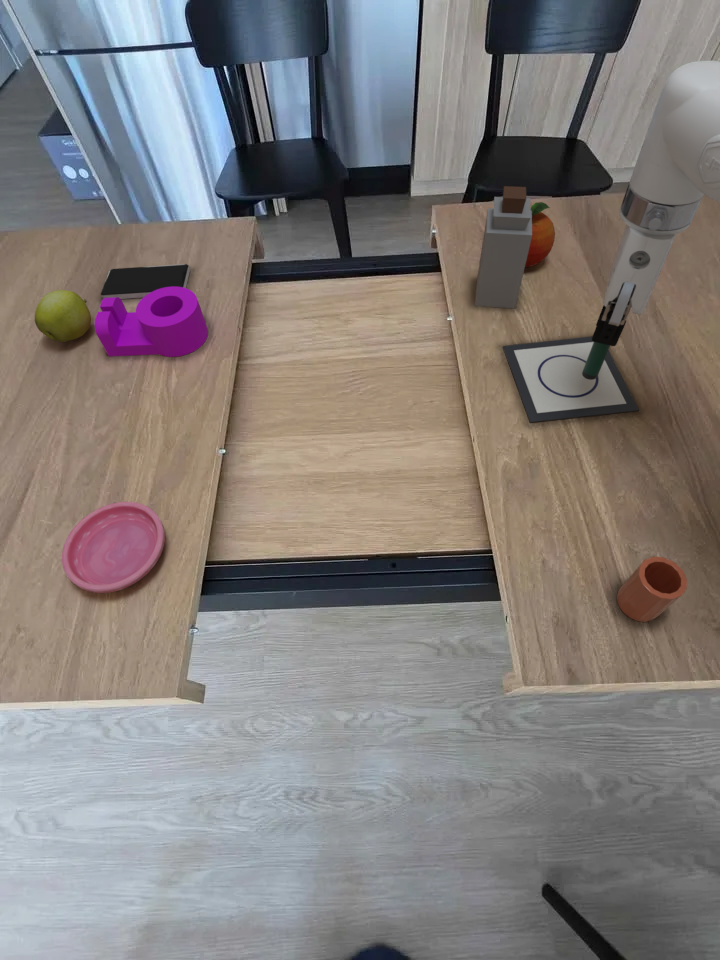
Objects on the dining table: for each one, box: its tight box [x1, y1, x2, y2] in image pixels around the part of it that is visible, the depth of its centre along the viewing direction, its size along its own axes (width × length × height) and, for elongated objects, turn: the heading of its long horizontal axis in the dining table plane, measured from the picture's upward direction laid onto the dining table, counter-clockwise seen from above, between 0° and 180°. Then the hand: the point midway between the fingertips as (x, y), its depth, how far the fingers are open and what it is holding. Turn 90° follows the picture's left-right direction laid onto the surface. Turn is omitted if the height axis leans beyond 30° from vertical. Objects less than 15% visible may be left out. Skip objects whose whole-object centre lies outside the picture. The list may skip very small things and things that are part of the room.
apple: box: [34, 289, 92, 343], centre depth 92 cm, size 8×9×8 cm
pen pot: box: [616, 556, 688, 623], centre depth 62 cm, size 5×5×7 cm
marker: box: [582, 306, 614, 380], centre depth 76 cm, size 2×2×13 cm
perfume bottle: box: [474, 185, 532, 310], centre depth 89 cm, size 7×7×18 cm
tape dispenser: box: [94, 286, 209, 358], centre depth 91 cm, size 16×10×6 cm, turn 91°
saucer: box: [61, 501, 166, 594], centre depth 70 cm, size 12×12×3 cm
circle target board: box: [502, 335, 640, 424], centre depth 84 cm, size 16×16×1 cm
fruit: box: [525, 201, 556, 268], centre depth 97 cm, size 10×10×10 cm
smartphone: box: [100, 263, 191, 300], centre depth 102 cm, size 8×1×15 cm
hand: (605, 334), depth 75 cm, fingers closed on marker, 2 cm apart
